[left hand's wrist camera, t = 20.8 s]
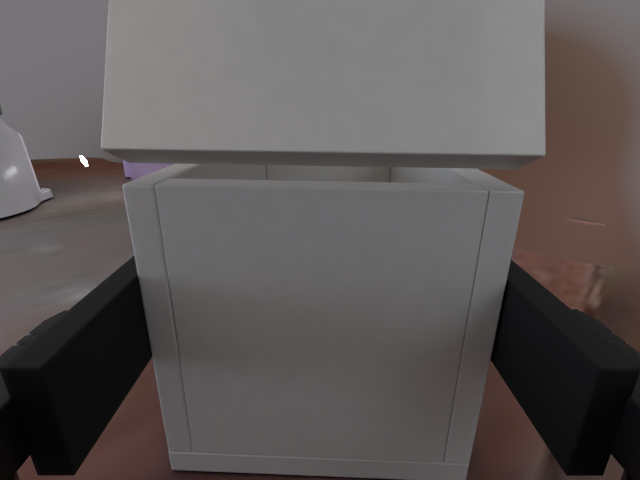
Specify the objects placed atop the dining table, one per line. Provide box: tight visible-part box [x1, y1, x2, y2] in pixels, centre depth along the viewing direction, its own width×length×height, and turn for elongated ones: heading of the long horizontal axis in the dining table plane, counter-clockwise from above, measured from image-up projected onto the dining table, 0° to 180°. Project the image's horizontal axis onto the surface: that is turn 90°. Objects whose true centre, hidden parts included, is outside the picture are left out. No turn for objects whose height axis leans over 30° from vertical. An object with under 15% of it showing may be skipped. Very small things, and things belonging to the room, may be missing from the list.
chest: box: [122, 164, 524, 480], centre depth 19 cm, size 17×10×10 cm, turn 178°
